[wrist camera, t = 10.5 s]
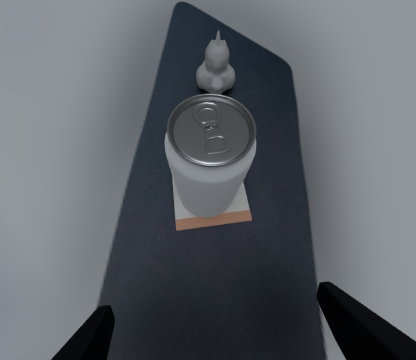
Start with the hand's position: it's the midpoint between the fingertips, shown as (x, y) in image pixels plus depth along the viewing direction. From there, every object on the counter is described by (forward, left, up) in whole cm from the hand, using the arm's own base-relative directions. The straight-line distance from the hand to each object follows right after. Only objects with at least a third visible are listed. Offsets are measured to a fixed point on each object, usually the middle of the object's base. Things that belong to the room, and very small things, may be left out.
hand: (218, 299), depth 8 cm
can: (+9, -1, -12) cm, 15 cm away
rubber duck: (+25, -5, -13) cm, 29 cm away
